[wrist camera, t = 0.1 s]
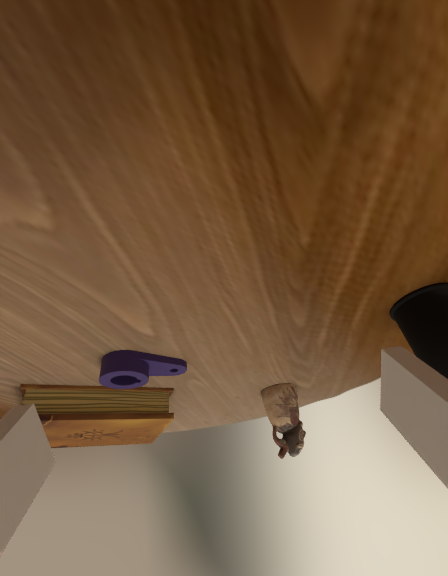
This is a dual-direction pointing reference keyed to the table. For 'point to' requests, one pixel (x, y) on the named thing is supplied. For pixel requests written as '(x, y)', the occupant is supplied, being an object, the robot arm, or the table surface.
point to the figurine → (284, 417)
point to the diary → (99, 414)
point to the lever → (136, 368)
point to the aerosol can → (426, 324)
